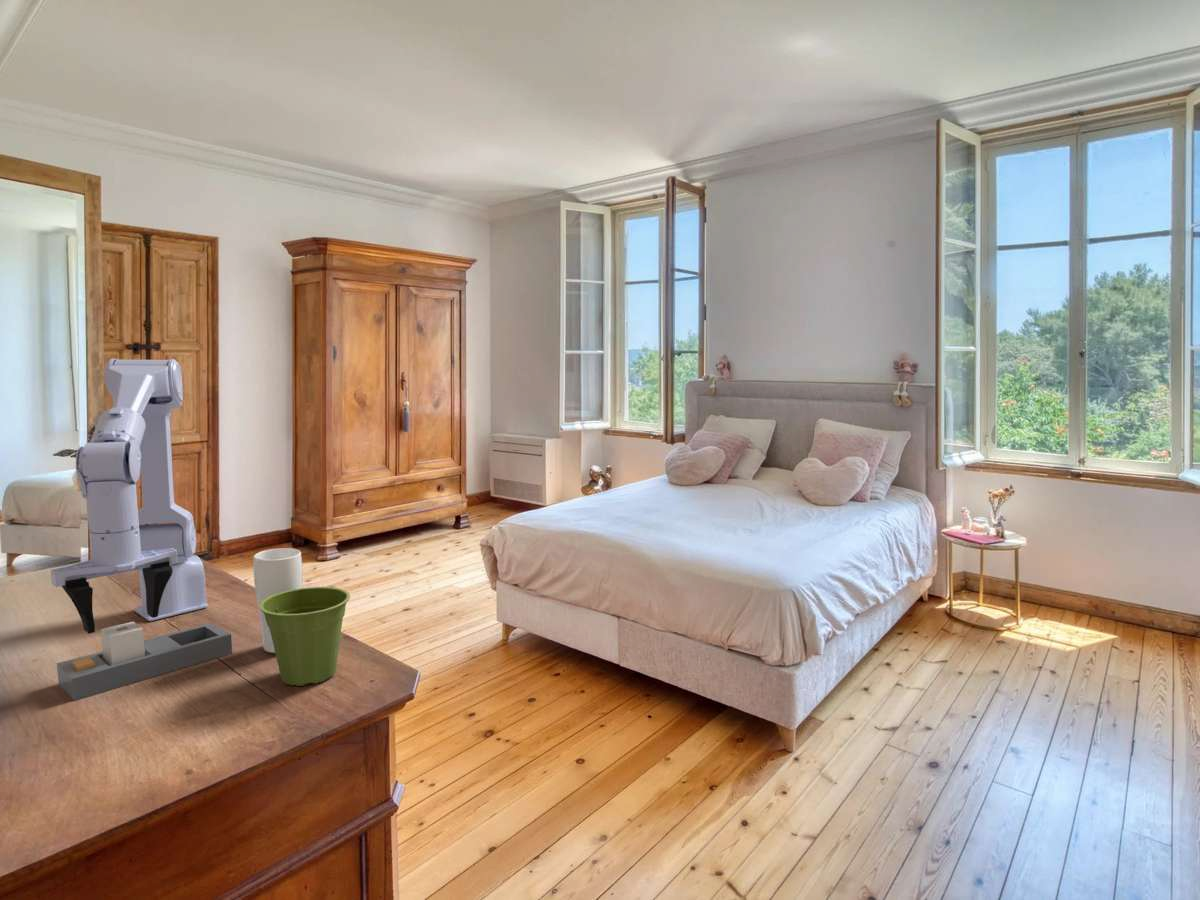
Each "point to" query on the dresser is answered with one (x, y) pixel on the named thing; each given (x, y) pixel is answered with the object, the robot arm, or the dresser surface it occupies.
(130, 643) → the block
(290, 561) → the white tall hollow cylinder
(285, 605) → the plant pot
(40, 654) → the dresser surface
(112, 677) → the power strip
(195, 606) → the robot arm
